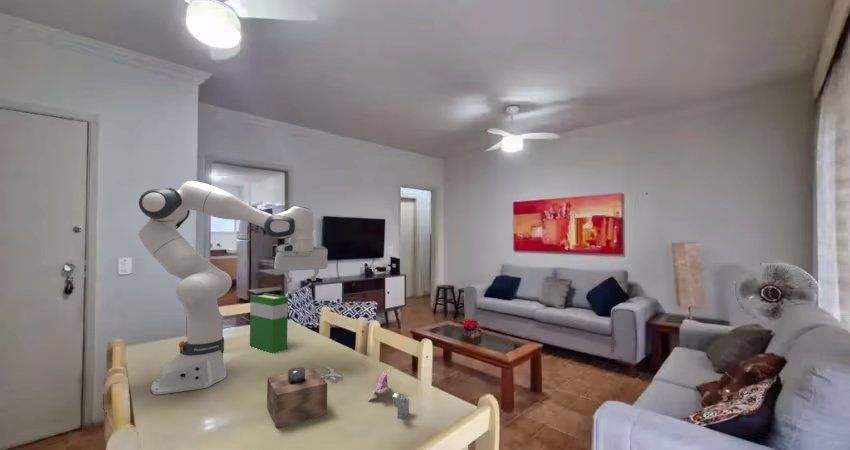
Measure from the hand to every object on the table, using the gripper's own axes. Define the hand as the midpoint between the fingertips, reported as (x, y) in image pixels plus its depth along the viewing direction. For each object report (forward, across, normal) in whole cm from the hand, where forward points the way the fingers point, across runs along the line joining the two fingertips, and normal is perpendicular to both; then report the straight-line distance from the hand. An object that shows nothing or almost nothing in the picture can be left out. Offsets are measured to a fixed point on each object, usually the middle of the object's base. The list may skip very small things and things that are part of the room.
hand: (301, 281), depth 141 cm
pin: (+32, +10, +34) cm, 48 cm away
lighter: (+34, -14, +55) cm, 66 cm away
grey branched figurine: (+35, -6, +14) cm, 38 cm away
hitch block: (+34, +10, +34) cm, 49 cm away
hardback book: (+34, +6, -33) cm, 48 cm away
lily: (+34, -16, +40) cm, 55 cm away
